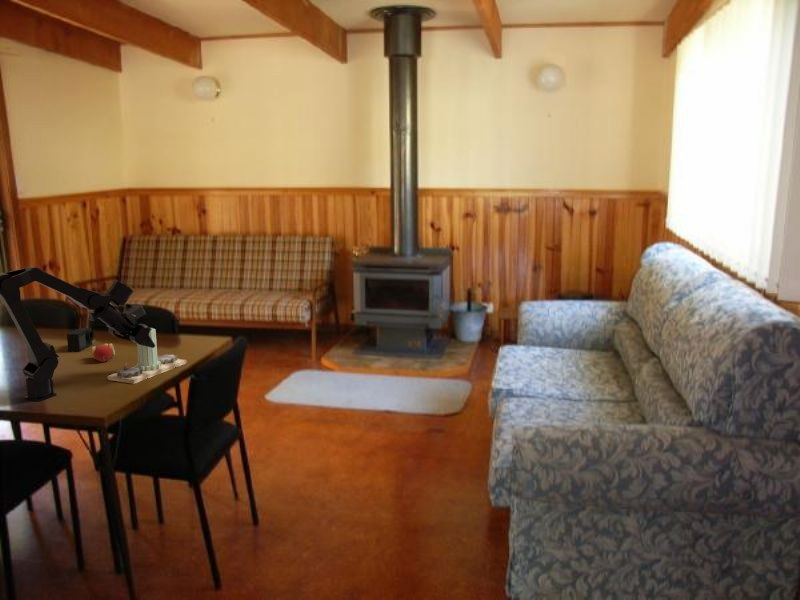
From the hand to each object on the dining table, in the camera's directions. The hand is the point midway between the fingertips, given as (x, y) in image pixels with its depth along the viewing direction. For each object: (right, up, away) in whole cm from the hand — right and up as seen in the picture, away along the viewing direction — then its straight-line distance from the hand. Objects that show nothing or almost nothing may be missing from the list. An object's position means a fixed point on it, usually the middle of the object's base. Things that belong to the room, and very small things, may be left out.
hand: (147, 344), depth 226 cm
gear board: (0, -9, +2) cm, 9 cm away
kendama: (-23, -6, +19) cm, 30 cm away
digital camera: (-36, -4, +31) cm, 48 cm away
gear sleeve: (0, -8, +1) cm, 8 cm away
